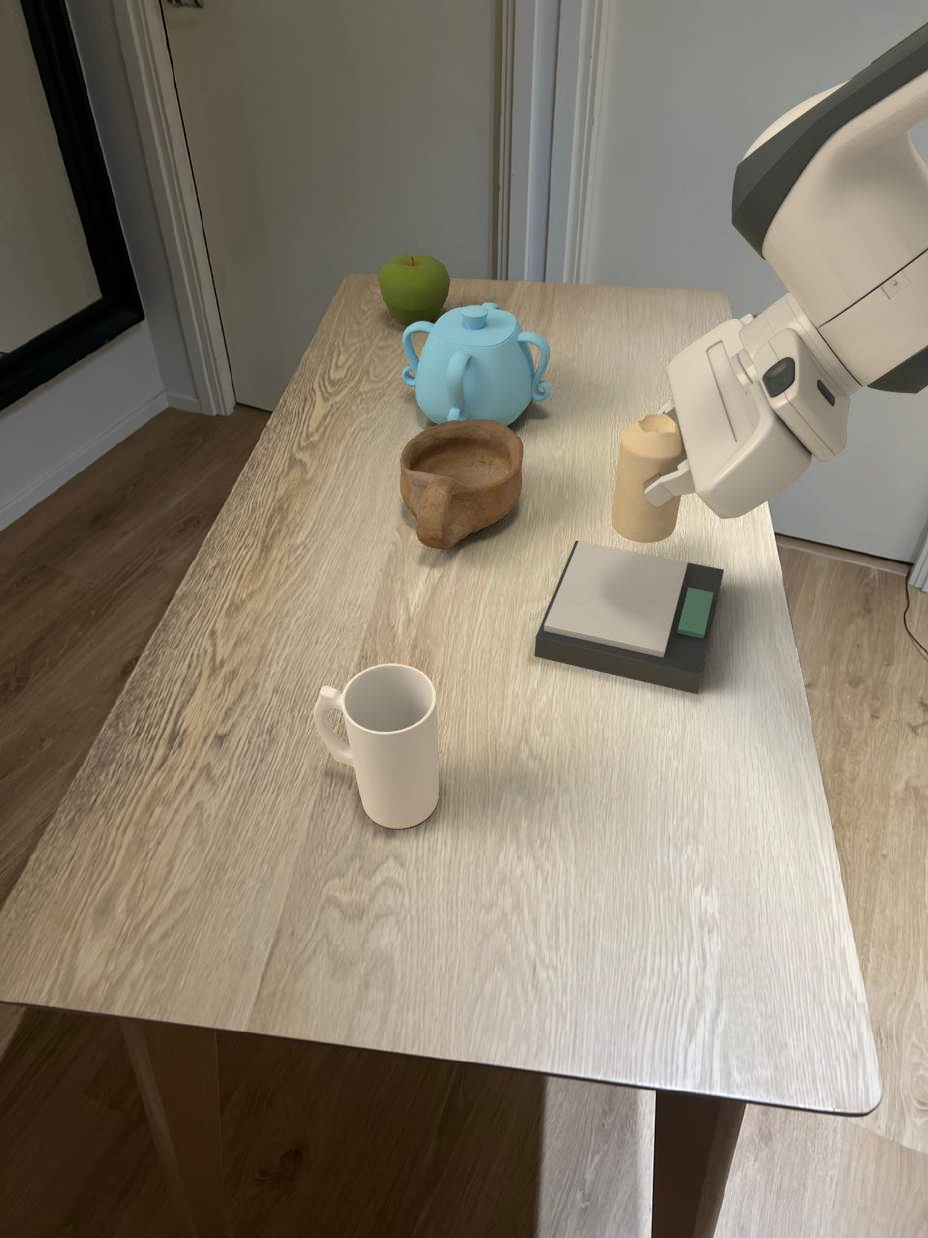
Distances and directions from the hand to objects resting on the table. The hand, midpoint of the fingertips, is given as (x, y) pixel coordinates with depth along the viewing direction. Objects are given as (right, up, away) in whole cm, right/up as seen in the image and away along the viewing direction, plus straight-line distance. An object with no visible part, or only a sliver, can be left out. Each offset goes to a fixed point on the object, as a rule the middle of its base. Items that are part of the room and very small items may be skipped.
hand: (644, 472), depth 73 cm
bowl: (-15, -1, +25) cm, 29 cm away
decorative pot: (-13, +15, +42) cm, 47 cm away
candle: (+1, -4, +4) cm, 6 cm away
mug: (-21, -26, -1) cm, 34 cm away
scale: (+1, -12, +13) cm, 18 cm away
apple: (-22, +33, +61) cm, 73 cm away
